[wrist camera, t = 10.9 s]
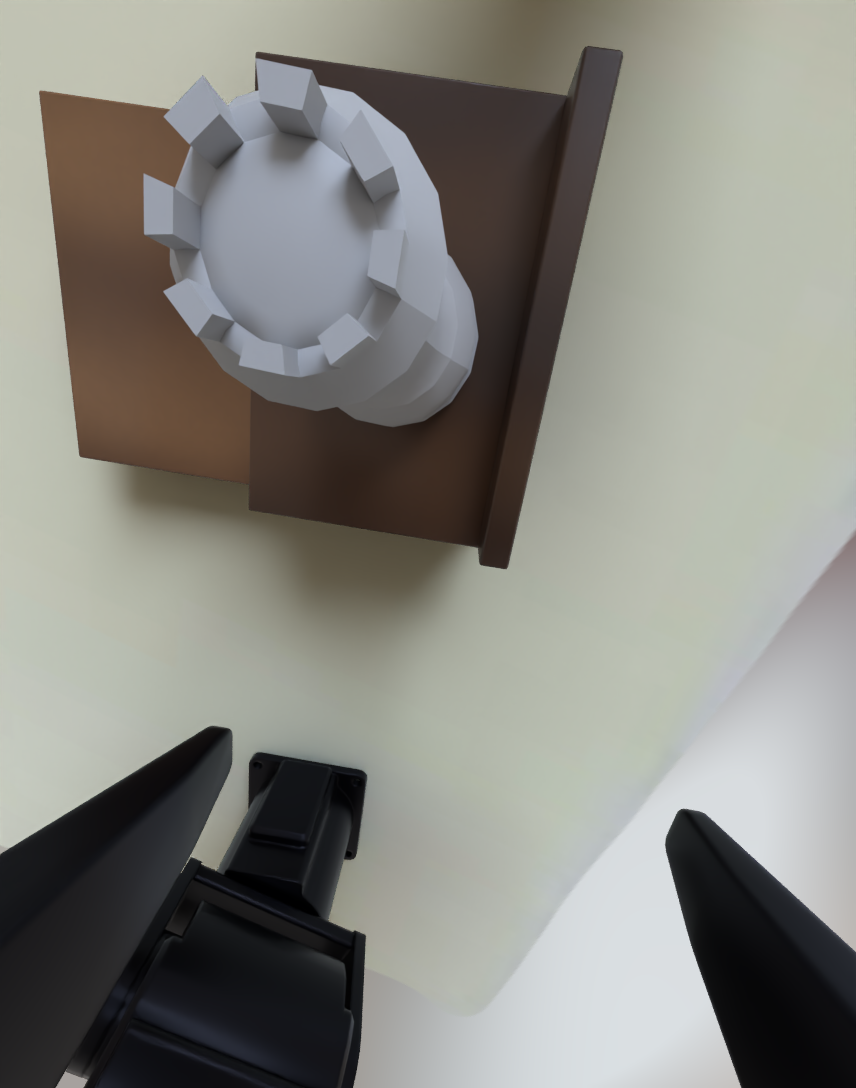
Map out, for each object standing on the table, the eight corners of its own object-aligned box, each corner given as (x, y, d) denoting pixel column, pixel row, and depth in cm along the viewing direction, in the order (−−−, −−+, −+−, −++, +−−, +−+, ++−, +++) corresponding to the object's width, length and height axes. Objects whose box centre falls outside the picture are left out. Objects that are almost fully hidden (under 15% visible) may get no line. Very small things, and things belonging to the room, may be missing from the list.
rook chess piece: (506, 287, 11) (605, 49, 4) (437, 451, 13) (403, 530, 5) (343, 211, 11) (73, -222, 3) (291, 387, 12) (20, 369, 5)
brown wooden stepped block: (490, 506, 19) (507, 570, 12) (134, 448, 19) (-55, 477, 12) (550, 209, 15) (625, 48, 8) (113, 144, 16) (-170, -63, 9)
